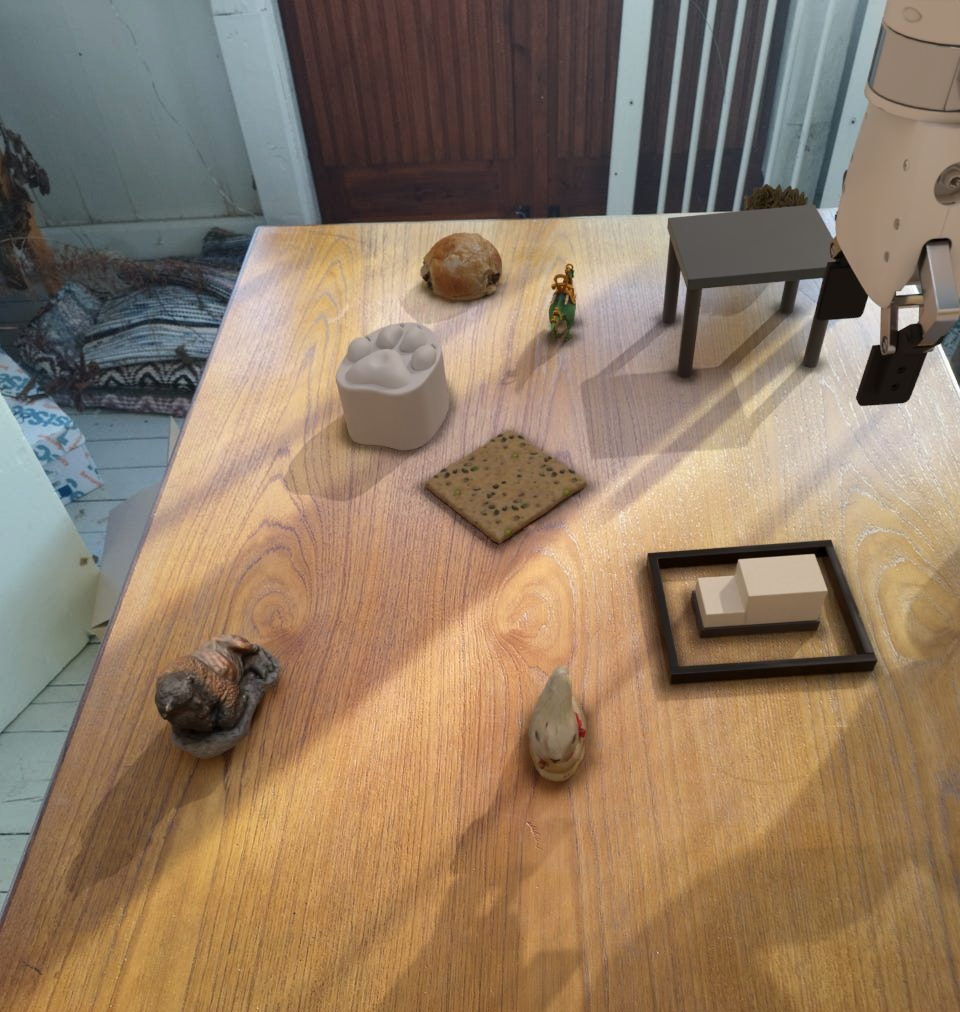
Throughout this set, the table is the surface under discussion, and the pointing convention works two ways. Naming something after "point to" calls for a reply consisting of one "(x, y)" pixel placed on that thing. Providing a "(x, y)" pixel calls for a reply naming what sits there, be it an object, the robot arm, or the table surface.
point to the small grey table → (744, 263)
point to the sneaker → (761, 598)
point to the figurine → (563, 302)
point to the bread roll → (462, 267)
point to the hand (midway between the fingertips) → (858, 357)
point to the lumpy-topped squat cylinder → (394, 387)
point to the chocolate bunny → (557, 729)
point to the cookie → (504, 485)
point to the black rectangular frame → (769, 668)
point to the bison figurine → (215, 693)
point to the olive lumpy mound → (774, 198)
